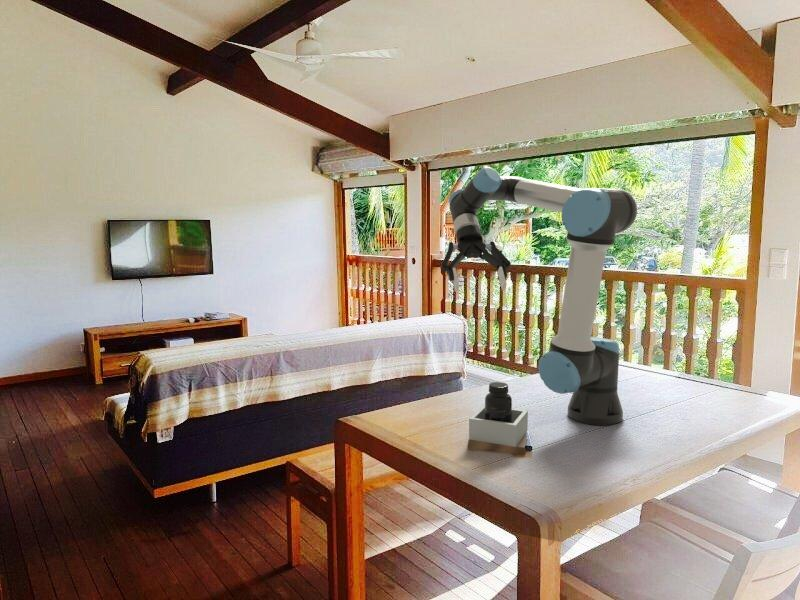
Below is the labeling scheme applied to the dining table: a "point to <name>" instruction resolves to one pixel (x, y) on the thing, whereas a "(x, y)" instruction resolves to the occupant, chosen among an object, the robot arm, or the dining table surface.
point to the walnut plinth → (498, 446)
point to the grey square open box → (498, 428)
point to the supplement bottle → (498, 403)
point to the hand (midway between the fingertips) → (480, 288)
